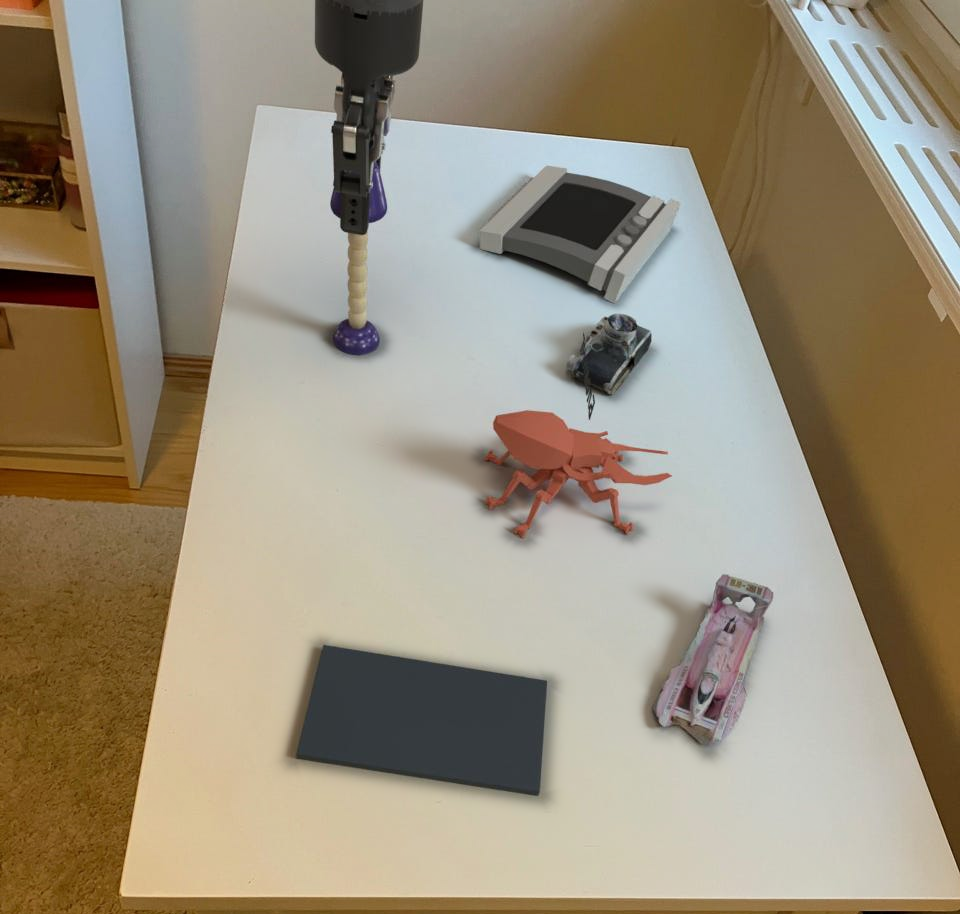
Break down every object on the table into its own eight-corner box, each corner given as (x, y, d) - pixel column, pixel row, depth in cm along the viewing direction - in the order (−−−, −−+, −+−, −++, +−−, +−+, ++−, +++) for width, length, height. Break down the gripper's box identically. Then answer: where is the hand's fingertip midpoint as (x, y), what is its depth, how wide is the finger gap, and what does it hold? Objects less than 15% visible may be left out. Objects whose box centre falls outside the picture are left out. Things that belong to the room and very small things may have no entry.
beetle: (483, 535, 79) (509, 411, 69) (481, 431, 86) (504, 305, 76) (666, 551, 81) (716, 432, 71) (648, 447, 88) (692, 327, 78)
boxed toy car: (722, 757, 69) (743, 726, 66) (648, 723, 70) (666, 691, 67) (766, 628, 77) (787, 595, 74) (700, 598, 78) (718, 564, 75)
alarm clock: (625, 274, 98) (481, 204, 100) (610, 313, 102) (472, 245, 104) (681, 203, 108) (549, 140, 110) (666, 240, 112) (539, 179, 114)
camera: (559, 378, 92) (569, 340, 89) (605, 327, 98) (616, 289, 95) (608, 400, 91) (619, 363, 88) (651, 347, 97) (663, 310, 94)
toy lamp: (321, 347, 90) (323, 168, 77) (336, 318, 93) (341, 141, 80) (371, 360, 90) (382, 183, 77) (386, 331, 93) (398, 155, 80)
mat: (296, 758, 65) (296, 753, 64) (323, 649, 70) (323, 644, 70) (538, 796, 65) (539, 791, 65) (545, 685, 71) (547, 680, 70)
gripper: (335, -64, 73) (330, 164, 86) (294, 13, 64) (296, 253, 77) (436, -44, 73) (416, 179, 87) (409, 35, 64) (391, 271, 78)
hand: (359, 213), depth 82 cm, fingers closed on toy lamp, 4 cm apart
